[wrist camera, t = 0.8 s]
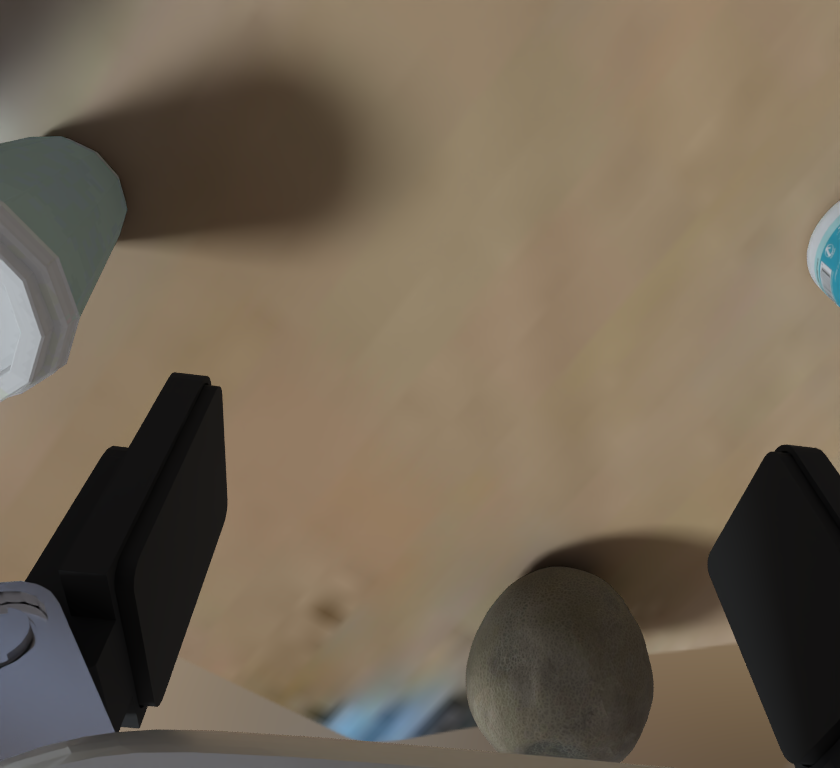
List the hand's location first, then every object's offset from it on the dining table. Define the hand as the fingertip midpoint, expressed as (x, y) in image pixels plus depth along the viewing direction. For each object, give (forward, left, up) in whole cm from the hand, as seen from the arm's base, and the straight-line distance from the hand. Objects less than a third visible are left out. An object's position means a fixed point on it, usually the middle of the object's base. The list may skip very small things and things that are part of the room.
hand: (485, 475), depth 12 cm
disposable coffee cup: (+22, +1, -30) cm, 37 cm away
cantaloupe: (-1, +42, -30) cm, 51 cm away
